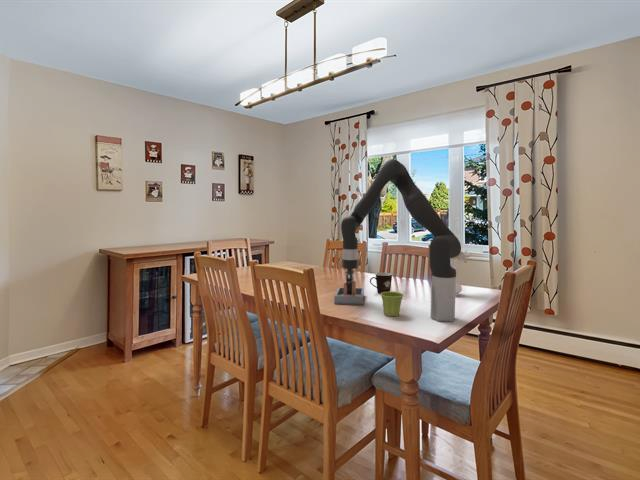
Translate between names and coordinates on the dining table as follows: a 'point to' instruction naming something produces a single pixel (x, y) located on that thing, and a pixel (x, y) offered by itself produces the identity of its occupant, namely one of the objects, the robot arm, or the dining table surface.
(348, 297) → the gray tray
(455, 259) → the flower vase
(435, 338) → the dining table surface
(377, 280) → the coffee mug
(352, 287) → the terracotta block
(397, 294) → the plant pot
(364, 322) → the dining table surface
